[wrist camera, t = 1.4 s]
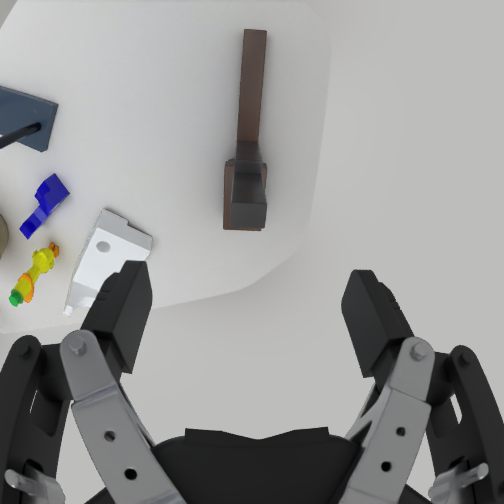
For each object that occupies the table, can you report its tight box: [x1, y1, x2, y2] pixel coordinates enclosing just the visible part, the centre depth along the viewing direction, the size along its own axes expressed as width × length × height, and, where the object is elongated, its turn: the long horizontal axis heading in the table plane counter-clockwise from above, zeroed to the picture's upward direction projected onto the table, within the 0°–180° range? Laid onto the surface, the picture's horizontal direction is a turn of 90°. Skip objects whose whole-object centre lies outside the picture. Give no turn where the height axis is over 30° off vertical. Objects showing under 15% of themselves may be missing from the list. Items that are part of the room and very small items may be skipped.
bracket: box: [63, 209, 152, 317], centre depth 32 cm, size 13×7×8 cm, turn 138°
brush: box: [223, 29, 267, 231], centre depth 20 cm, size 4×20×15 cm, turn 176°
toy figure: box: [9, 243, 59, 307], centre depth 29 cm, size 7×4×12 cm, turn 144°
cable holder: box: [20, 174, 70, 239], centre depth 28 cm, size 8×4×4 cm, turn 120°
